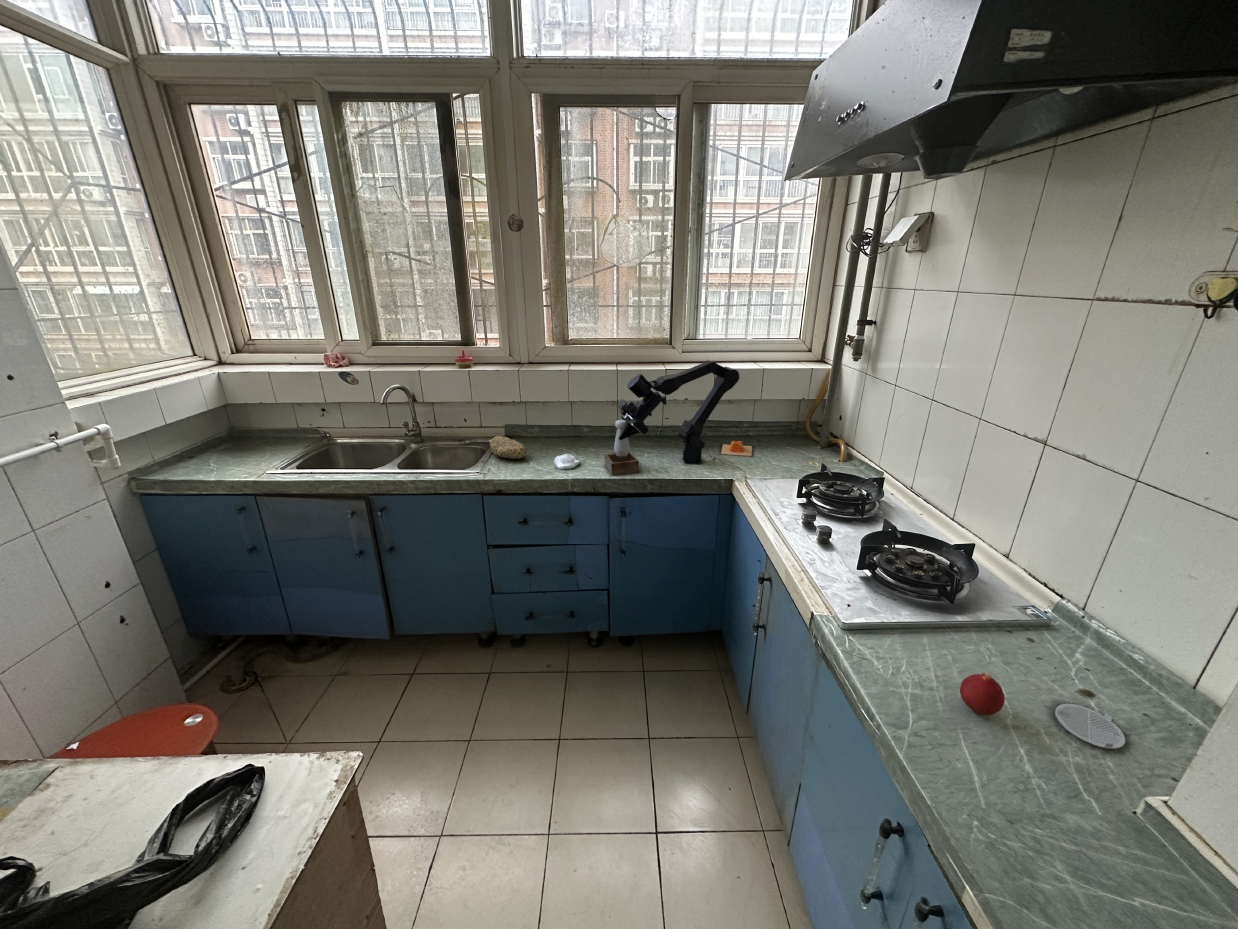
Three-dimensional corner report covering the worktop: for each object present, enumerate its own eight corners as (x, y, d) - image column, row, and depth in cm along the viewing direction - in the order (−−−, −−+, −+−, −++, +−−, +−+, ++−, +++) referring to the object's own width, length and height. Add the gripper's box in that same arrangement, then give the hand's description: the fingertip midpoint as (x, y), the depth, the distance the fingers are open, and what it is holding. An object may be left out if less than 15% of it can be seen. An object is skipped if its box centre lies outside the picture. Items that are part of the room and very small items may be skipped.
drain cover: (1056, 696, 85) (1058, 692, 84) (1123, 723, 80) (1125, 718, 79) (1053, 728, 79) (1055, 723, 79) (1126, 759, 74) (1128, 754, 73)
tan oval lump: (488, 453, 207) (492, 459, 188) (489, 434, 206) (493, 438, 187) (520, 455, 211) (527, 461, 192) (521, 436, 210) (528, 441, 192)
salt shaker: (626, 451, 187) (625, 417, 182) (632, 455, 182) (631, 421, 177) (611, 453, 185) (610, 419, 180) (617, 458, 180) (616, 423, 175)
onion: (981, 697, 85) (993, 660, 82) (1006, 726, 80) (1020, 687, 77) (947, 698, 85) (958, 661, 82) (971, 727, 79) (983, 688, 77)
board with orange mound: (752, 446, 208) (753, 436, 206) (751, 456, 196) (752, 446, 195) (722, 444, 210) (723, 434, 209) (721, 453, 199) (721, 443, 198)
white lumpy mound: (550, 451, 191) (574, 448, 194) (551, 462, 192) (574, 458, 196) (558, 460, 182) (583, 456, 186) (558, 471, 184) (583, 467, 188)
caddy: (630, 462, 191) (630, 451, 190) (638, 472, 182) (638, 460, 180) (604, 465, 189) (604, 454, 187) (611, 475, 180) (611, 463, 178)
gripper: (624, 386, 184) (596, 417, 186) (639, 397, 167) (608, 432, 169) (644, 404, 189) (617, 435, 190) (661, 417, 172) (631, 451, 174)
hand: (618, 438), depth 181 cm, fingers closed on salt shaker, 3 cm apart
